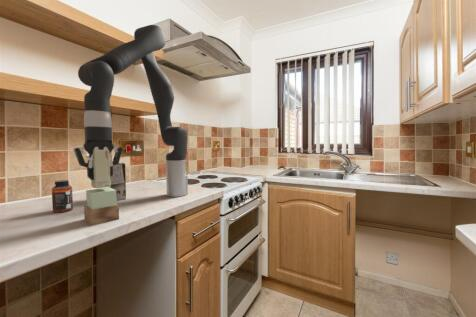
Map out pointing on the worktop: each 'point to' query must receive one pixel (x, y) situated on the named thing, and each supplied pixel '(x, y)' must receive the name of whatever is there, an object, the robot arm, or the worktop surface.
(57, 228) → the worktop surface
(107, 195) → the green block
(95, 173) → the skincare box
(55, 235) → the worktop surface
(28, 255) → the worktop surface
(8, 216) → the worktop surface
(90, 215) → the walnut block
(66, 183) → the supplement bottle
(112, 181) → the coffee box
